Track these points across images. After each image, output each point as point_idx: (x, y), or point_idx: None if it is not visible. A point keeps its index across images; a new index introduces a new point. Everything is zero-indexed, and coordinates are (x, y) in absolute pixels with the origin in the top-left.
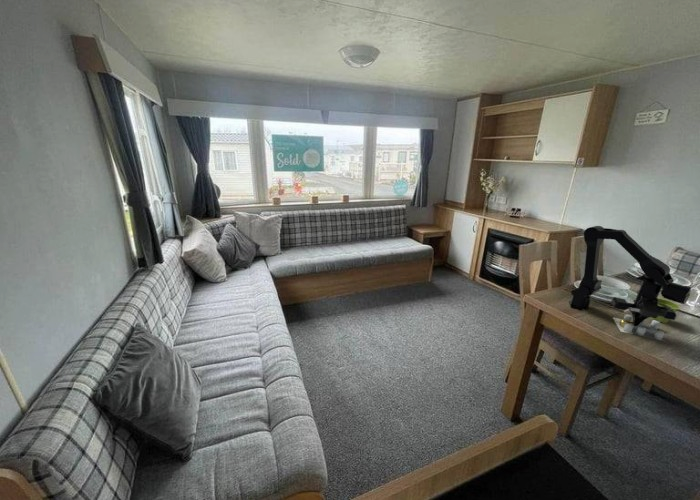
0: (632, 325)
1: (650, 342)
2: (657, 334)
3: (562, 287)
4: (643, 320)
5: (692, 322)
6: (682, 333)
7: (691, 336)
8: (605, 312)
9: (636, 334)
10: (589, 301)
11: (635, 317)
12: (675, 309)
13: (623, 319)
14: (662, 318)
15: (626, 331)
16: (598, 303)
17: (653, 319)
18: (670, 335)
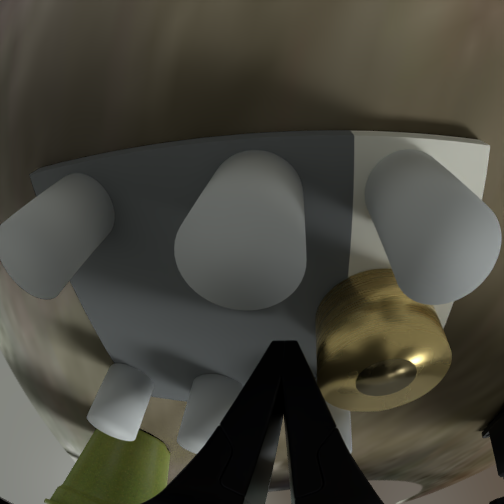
0: (406, 266)
1: (155, 60)
2: (58, 213)
3: (461, 480)
4: (212, 436)
5: (52, 429)
6: (30, 364)
7: (5, 349)
8: (404, 430)
9: (304, 155)
10: None
11: (344, 465)
12: (50, 502)
13: (415, 387)
14: (106, 449)
15: (433, 160)
16: (385, 470)
17: (145, 441)
18: (48, 326)
